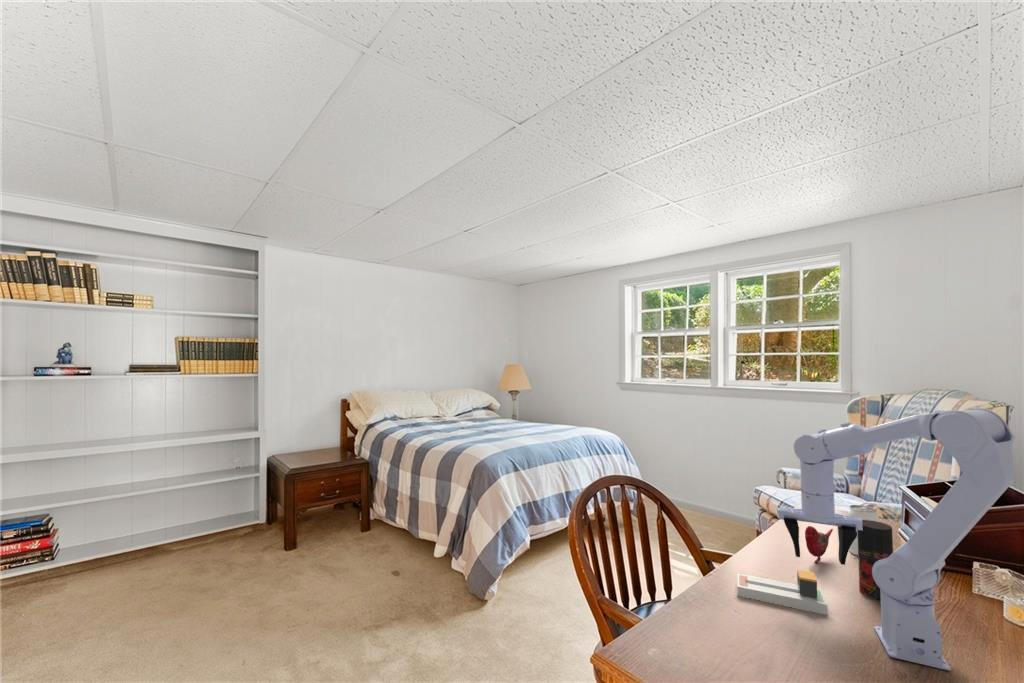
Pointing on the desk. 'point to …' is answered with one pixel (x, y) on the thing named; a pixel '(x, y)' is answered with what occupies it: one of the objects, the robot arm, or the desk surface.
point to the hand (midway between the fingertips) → (819, 559)
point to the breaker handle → (807, 583)
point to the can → (863, 514)
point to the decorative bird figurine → (816, 542)
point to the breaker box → (780, 593)
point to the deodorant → (872, 554)
